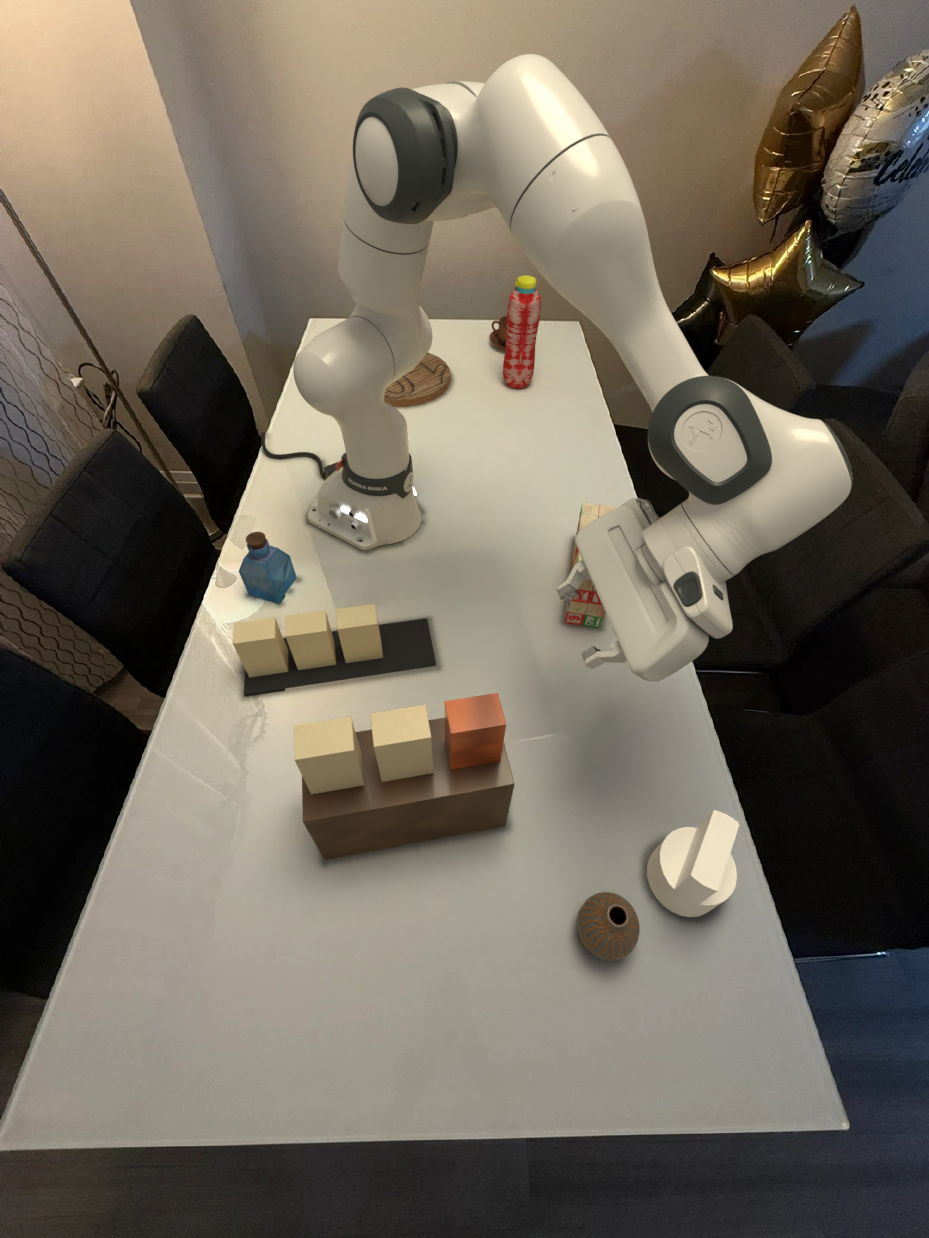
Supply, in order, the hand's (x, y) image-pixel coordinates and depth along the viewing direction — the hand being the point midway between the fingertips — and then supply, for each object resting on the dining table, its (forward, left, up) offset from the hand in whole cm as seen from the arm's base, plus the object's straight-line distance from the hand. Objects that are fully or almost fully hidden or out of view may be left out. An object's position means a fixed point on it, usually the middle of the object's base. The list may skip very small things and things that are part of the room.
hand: (572, 627), depth 65 cm
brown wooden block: (-13, -17, -27) cm, 34 cm away
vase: (+14, -22, -27) cm, 38 cm away
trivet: (-65, +82, -27) cm, 108 cm away
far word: (-35, +1, -27) cm, 44 cm away
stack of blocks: (-2, +33, -27) cm, 43 cm away
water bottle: (-38, +94, -27) cm, 105 cm away
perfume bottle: (-54, +9, -27) cm, 61 cm away
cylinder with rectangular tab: (+22, -12, -27) cm, 37 cm away
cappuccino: (-22, +144, -26) cm, 148 cm away
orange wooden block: (-7, -12, -13) cm, 19 cm away
